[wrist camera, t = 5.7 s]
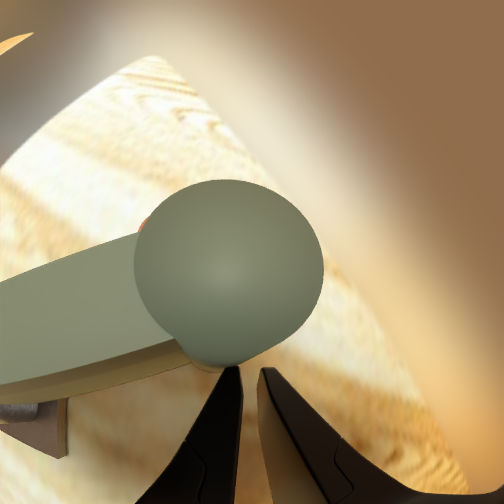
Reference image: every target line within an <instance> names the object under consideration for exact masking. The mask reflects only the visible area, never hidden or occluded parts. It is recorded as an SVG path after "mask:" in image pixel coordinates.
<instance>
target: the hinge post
mask: <svg viewBox="0 0 504 504" xmlns="http://www.w3.org/2000/svg"><path fill="white" fill-rule="evenodd" d="M66 411H67V397H66V398H62V399H57V400H52V401H46V402H41V403H35V404H29V405H4V404H0V430H1V431H3V432H5V433H6V434H8V435H10V436H12V437H13V438H15V439H17V440H19V441H21V442H23V443H25V444H27V445H29V446H31V447H33V448H35V449H37V450H39V451H41V452H43V453H45V454H48V455H50V456H52V457H55V458H57V459H59V458H62V457H64V456H67V449H66Z"/></svg>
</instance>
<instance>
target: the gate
mask: <svg viewBox="0 0 504 504" xmlns="http://www.w3.org/2000/svg"><path fill="white" fill-rule="evenodd" d="M323 275H324V266H323V257H322V252H321V248H320V245H319V242H318V239H317V237H316V235H315V232H314V230H313V229H312V227H311V225H310V224H309V222H308V221H307V219H306V218H305V217H304V216H303V215H302V213H301V212H300V211H299V210H298V209H297V208H296V207H295V206H294V205H293V204H292V203H290V202H289V201H288V200H286V199H285V198H284V197H282V196H280V195H279V194H277V193H276V192H274V191H272V190H269V189H267V188H265V187H263V186H260V185H257V184H254V183H250V182H245V181H239V180H211V181H206V182H201V183H197V184H194V185H191V186H188V187H186V188H184V189H182V190H180V191H178V192H176V193H174V194H173V195H171V196H170V197H168V198H167V199H166V200H165V201H163V202H162V203H161V204H160V205H159V206H158V207H157V208H156V209H155V210H154V211H153V212H152V214H151V215H150V216H149V218H148V219H147V221H146V222H145V224H144V226H143V227H142V229H141V231H140V232H137V233H134V234H131V235H127V236H124V237H121V238H118V239H115V240H112V241H109V242H106V243H103V244H100V245H97V246H95V247H92V248H89V249H86V250H83V251H80V252H77V253H75V254H72V255H69V256H66V257H64V258H61V259H58V260H55V261H53V262H50V263H47V264H45V265H42V266H40V267H37V268H34V269H32V270H29V271H27V272H24V273H22V274H19V275H17V276H14V277H12V278H9V279H7V280H5V281H2V282H0V404H4V405H29V404H35V403H41V402H46V401H52V400H57V399H62V398H66V397H71V396H76V395H80V394H84V393H89V392H93V391H97V390H101V389H105V388H109V387H113V386H116V385H120V384H124V383H127V382H131V381H134V380H138V379H141V378H145V377H148V376H151V375H155V374H158V373H161V372H164V371H168V370H171V369H174V368H177V367H180V366H183V365H186V364H189V363H193V364H194V365H195V366H196V367H198V368H199V369H201V370H203V371H206V372H210V373H220V372H223V370H224V369H225V368H227V367H232V366H237V365H239V364H241V363H243V362H245V361H247V360H249V359H251V358H253V357H255V356H256V355H258V354H260V353H262V352H264V351H266V350H268V349H269V348H271V347H273V346H275V345H277V344H279V343H280V342H282V341H284V340H285V339H286V338H288V337H289V336H291V335H292V334H293V333H295V332H296V331H297V330H298V329H299V328H300V327H301V326H302V325H303V324H304V322H305V321H306V320H307V318H308V317H309V316H310V314H311V313H312V311H313V309H314V307H315V306H316V304H317V301H318V298H319V296H320V293H321V289H322V284H323Z"/></svg>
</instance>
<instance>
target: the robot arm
mask: <svg viewBox="0 0 504 504" xmlns="http://www.w3.org/2000/svg"><path fill="white" fill-rule="evenodd" d="M243 398H244V394H243V386H242V378H241V371H240V367H239V366H232V367H227V368H225V369H224V370H223V372H222V374H221V376H220V378H219V380H218V381H217V383H216V385H215V387H214V389H213V390H212V392H211V394H210V396H209V398H208V399H207V401H206V403H205V405H204V406H203V408H202V410H201V412H200V414H199V415H198V417H197V419H196V421H195V422H194V424H193V426H192V428H191V429H190V431H189V433H188V434H187V436H186V438H185V441H183V443H182V444H181V446H180V448H179V449H178V451H177V453H176V454H175V456H174V457H173V459H172V460H171V462H170V463H169V465H168V466H167V467H166V468H165V470H164V471H163V472H162V474H161V475H160V476H159V477H158V478H157V480H156V481H155V482H154V483H153V484H152V485H151V486H150V487H149V489H148V490H147V491H146V492H145V493H144V494H143V495H142V496H141V497H140V498H139V499H138V501H137V502H136V503H135V504H234V497H235V487H236V476H237V465H238V454H239V444H240V433H241V422H242V411H243ZM257 406H258V426H259V435H260V441H261V446H262V451H263V456H264V460H265V465H266V470H267V475H268V480H269V484H270V489H271V494H272V498H273V503H274V504H504V484H503V485H502V486H501V487H500V488H498V489H497V490H496V491H493V492H491V493H486V494H474V495H454V494H433V493H423V492H419V491H416V490H413V489H411V488H408V487H407V486H405V485H403V484H402V483H400V482H399V481H397V480H395V479H394V478H393V477H391V476H390V475H388V474H387V473H385V472H384V471H382V470H381V469H379V468H378V467H377V466H375V465H374V464H372V463H371V462H370V461H369V460H367V459H366V458H365V457H363V456H362V455H361V454H360V453H359V452H358V451H356V450H355V449H354V448H353V447H352V446H351V445H350V444H349V443H348V442H347V441H346V440H345V439H344V438H341V436H340V435H339V434H338V433H337V432H336V431H335V430H334V429H333V428H332V427H331V426H330V425H329V424H328V423H327V422H326V421H325V420H324V419H323V418H322V417H321V416H320V415H319V414H318V413H317V412H316V411H315V410H314V409H313V408H312V407H311V406H310V405H309V403H308V402H307V401H306V400H305V399H304V398H303V397H302V396H301V395H300V394H299V393H298V392H297V391H296V390H295V389H294V388H293V387H292V386H291V384H290V383H289V382H288V381H287V380H286V379H285V378H284V377H283V376H282V375H281V374H280V373H279V371H278V370H277V369H276V368H274V367H262V368H261V370H260V374H259V379H258V384H257ZM340 438H341V439H340Z"/></svg>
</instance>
